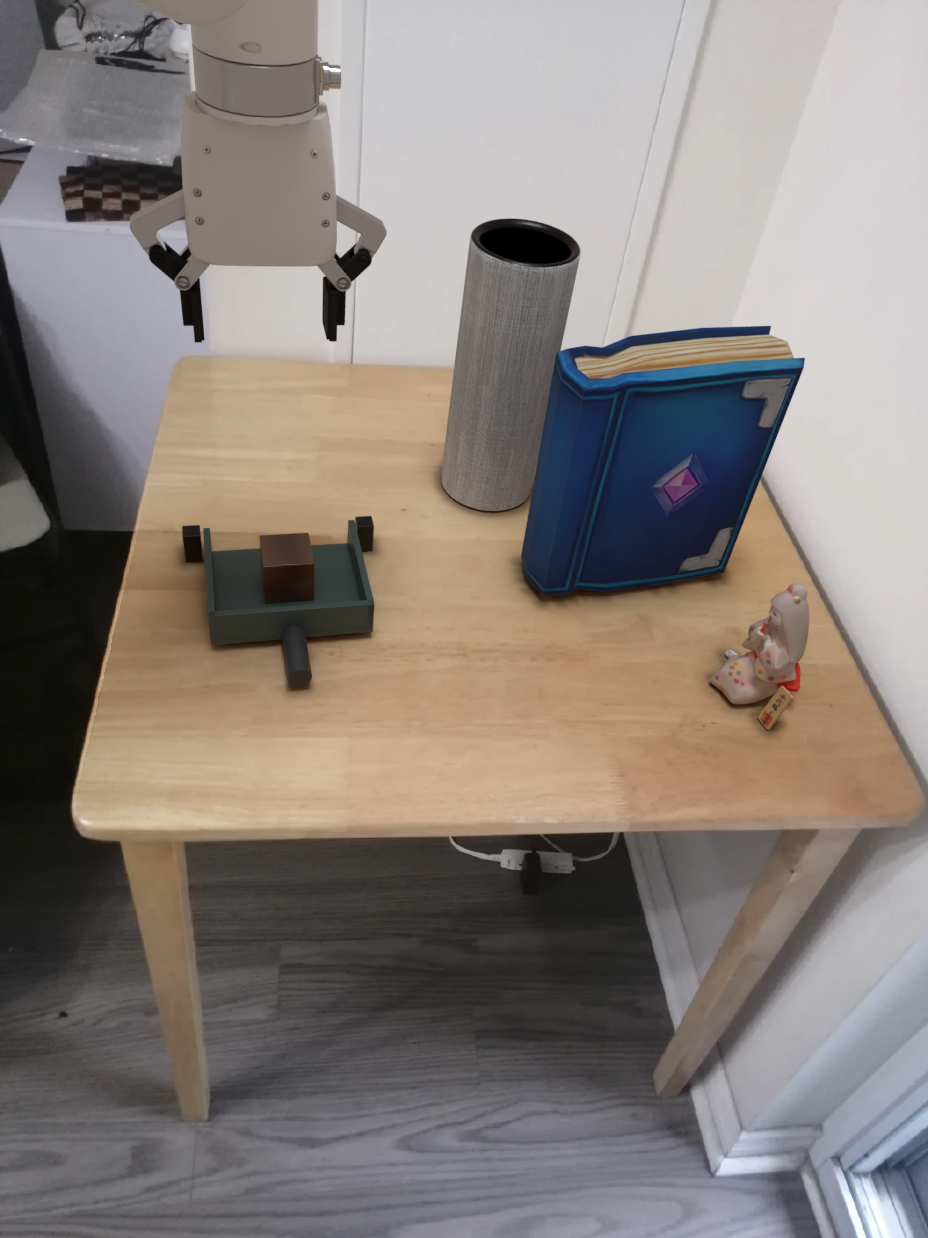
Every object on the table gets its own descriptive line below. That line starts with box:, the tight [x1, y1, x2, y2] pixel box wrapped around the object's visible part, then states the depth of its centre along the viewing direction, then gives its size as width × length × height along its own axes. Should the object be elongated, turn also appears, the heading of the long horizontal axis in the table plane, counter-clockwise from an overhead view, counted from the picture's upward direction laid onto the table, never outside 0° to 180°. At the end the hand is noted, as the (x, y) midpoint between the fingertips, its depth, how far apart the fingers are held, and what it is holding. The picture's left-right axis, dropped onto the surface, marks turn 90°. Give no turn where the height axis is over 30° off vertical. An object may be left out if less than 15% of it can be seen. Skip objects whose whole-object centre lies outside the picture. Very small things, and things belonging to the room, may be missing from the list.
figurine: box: [709, 583, 810, 731], centre depth 82 cm, size 9×7×12 cm
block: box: [258, 532, 314, 604], centre depth 85 cm, size 4×4×4 cm
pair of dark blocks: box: [181, 515, 375, 563], centre depth 90 cm, size 2×18×3 cm, turn 103°
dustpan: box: [202, 519, 375, 687], centre depth 83 cm, size 17×14×4 cm
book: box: [520, 325, 806, 596], centre depth 86 cm, size 22×7×25 cm, turn 108°
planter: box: [440, 218, 582, 512], centre depth 93 cm, size 10×10×27 cm
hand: (265, 332), depth 70 cm, fingers open, 9 cm apart
